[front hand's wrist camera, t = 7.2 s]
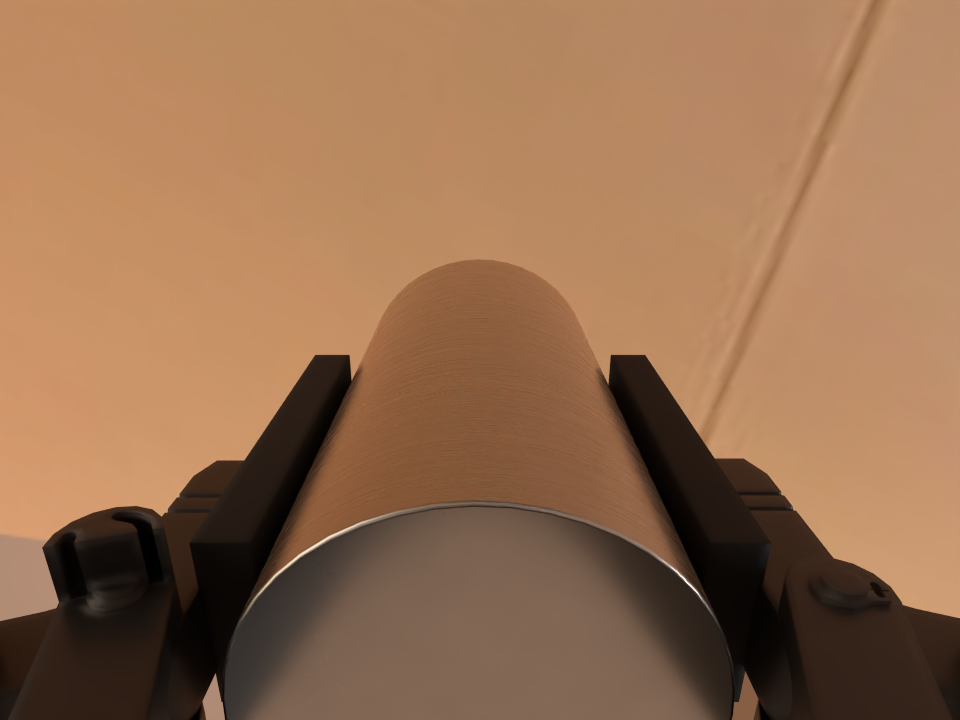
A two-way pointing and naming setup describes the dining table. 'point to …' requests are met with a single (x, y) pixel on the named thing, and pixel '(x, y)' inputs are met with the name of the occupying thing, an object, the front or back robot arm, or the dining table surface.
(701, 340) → the dining table surface
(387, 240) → the dining table surface
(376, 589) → the canister
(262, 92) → the dining table surface
